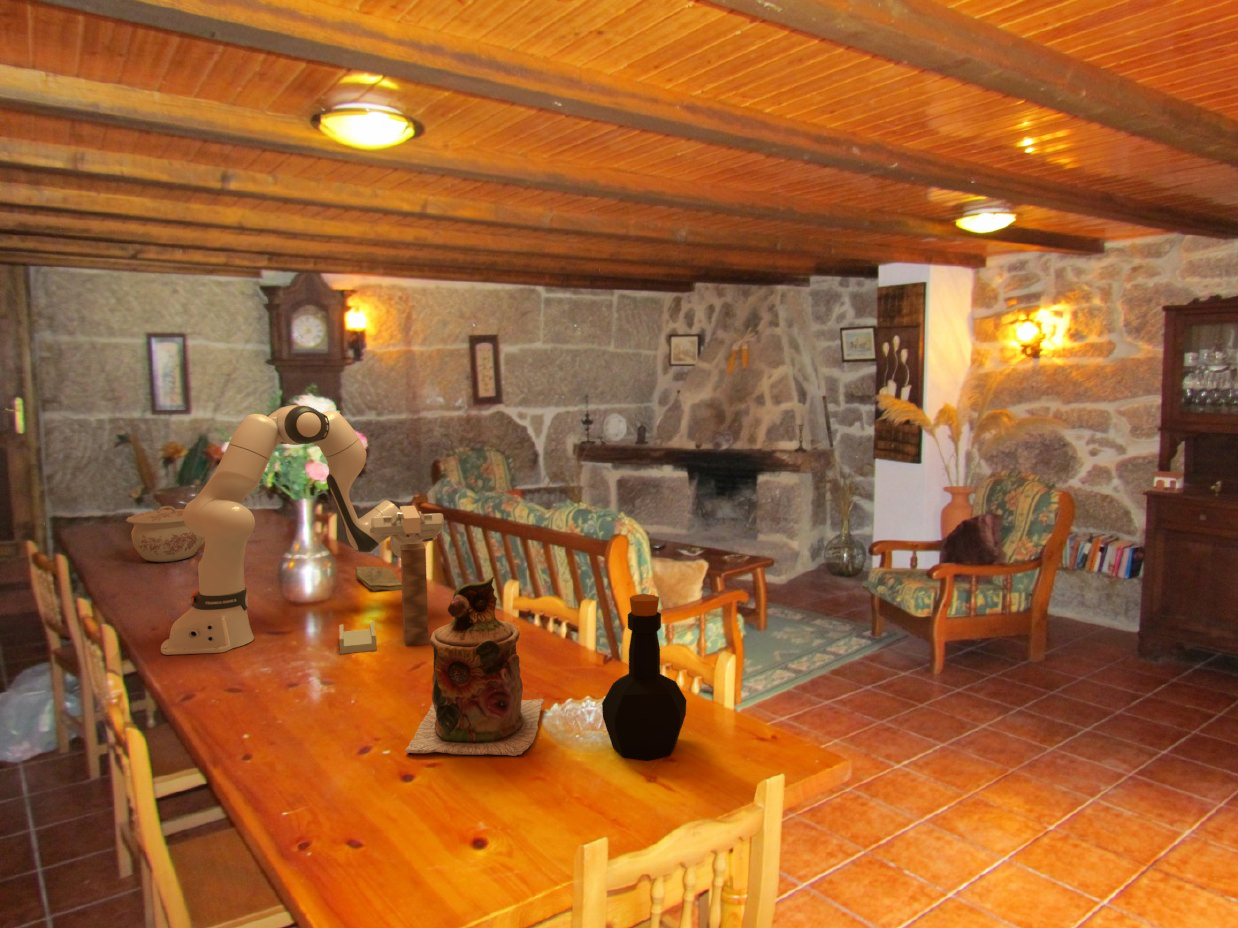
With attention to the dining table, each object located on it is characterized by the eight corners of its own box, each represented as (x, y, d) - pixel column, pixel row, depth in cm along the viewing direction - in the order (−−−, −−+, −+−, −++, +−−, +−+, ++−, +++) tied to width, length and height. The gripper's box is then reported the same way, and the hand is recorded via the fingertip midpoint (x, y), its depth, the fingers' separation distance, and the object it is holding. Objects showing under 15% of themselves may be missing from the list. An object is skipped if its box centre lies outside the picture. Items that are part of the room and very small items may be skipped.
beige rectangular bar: (405, 533, 228) (404, 518, 227) (400, 520, 246) (399, 506, 246) (420, 532, 229) (420, 517, 228) (414, 519, 248) (414, 505, 247)
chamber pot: (111, 565, 323) (107, 510, 321) (161, 549, 350) (158, 499, 347) (179, 568, 318) (175, 512, 316) (225, 552, 345) (222, 500, 343)
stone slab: (385, 562, 314) (405, 578, 287) (385, 574, 314) (405, 590, 287) (350, 566, 308) (367, 582, 281) (350, 577, 308) (367, 594, 282)
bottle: (600, 731, 176) (599, 587, 172) (680, 728, 177) (681, 585, 174) (604, 767, 160) (603, 609, 157) (692, 764, 161) (693, 607, 158)
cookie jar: (433, 706, 189) (429, 563, 185) (545, 707, 188) (543, 563, 185) (402, 758, 165) (396, 594, 161) (531, 759, 164) (528, 594, 160)
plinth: (405, 646, 229) (402, 549, 226) (403, 638, 236) (400, 544, 233) (428, 643, 231) (425, 548, 228) (426, 636, 238) (423, 543, 235)
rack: (340, 653, 223) (339, 638, 223) (340, 638, 236) (339, 624, 235) (376, 650, 226) (375, 635, 226) (374, 635, 238) (373, 621, 238)
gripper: (369, 523, 252) (369, 506, 239) (440, 518, 258) (444, 502, 246) (370, 543, 249) (370, 527, 237) (442, 538, 255) (446, 523, 243)
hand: (408, 514), depth 241 cm, fingers closed on beige rectangular bar, 4 cm apart
